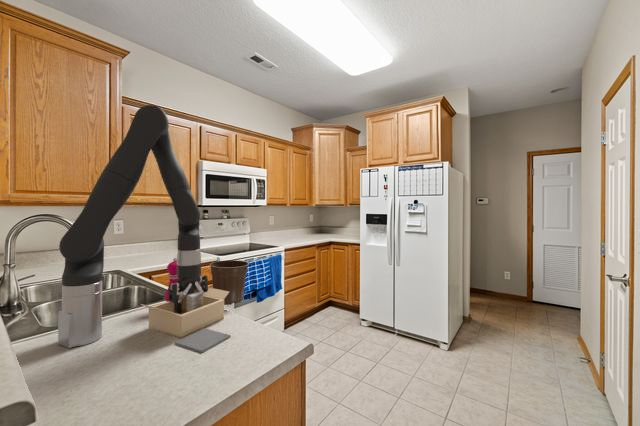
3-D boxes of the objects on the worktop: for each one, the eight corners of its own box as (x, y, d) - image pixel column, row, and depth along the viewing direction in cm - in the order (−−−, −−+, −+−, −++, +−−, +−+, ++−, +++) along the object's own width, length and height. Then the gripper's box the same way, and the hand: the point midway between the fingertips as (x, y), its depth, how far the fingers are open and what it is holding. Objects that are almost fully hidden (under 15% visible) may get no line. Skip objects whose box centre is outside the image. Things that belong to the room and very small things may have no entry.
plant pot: (252, 295, 132) (252, 260, 131) (243, 307, 116) (244, 267, 115) (216, 294, 131) (216, 259, 131) (202, 307, 115) (203, 267, 115)
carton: (172, 343, 84) (172, 312, 84) (139, 332, 91) (139, 303, 91) (230, 316, 106) (230, 291, 106) (199, 308, 113) (200, 285, 113)
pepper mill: (180, 303, 118) (180, 255, 118) (188, 307, 114) (189, 257, 113) (161, 308, 113) (162, 257, 112) (169, 312, 108) (170, 259, 108)
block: (191, 326, 95) (192, 296, 94) (173, 321, 99) (173, 292, 98) (202, 321, 99) (203, 293, 99) (184, 317, 103) (184, 289, 102)
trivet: (202, 353, 79) (202, 350, 79) (174, 344, 84) (175, 342, 84) (230, 337, 89) (230, 335, 89) (204, 329, 94) (204, 328, 94)
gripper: (178, 267, 90) (178, 318, 91) (213, 259, 103) (213, 304, 104) (162, 265, 94) (163, 314, 94) (198, 258, 106) (198, 301, 107)
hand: (189, 309), depth 99 cm, fingers open, 8 cm apart
